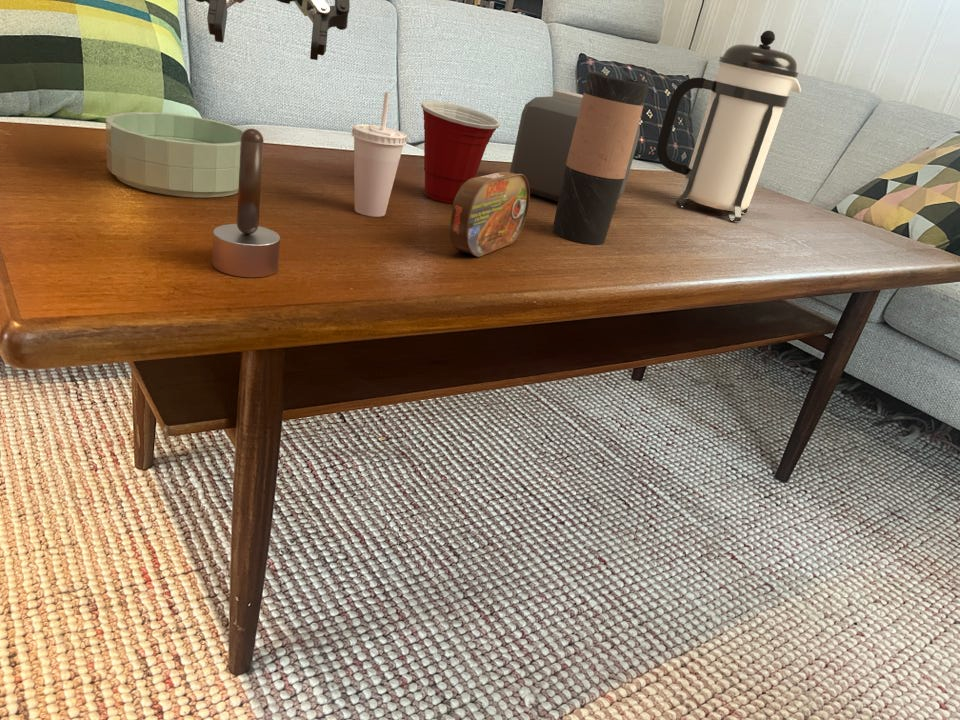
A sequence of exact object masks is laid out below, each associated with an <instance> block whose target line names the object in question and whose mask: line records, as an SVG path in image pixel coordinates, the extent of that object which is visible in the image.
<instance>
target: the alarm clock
mask: <svg viewBox="0 0 960 720" xmlns="http://www.w3.org/2000/svg"><path fill="white" fill-rule="evenodd" d="M582 98H583V94H580V93H576V92H572V91H568V90H563V89H554V90H553V92H552V96H534V98H532V99H530V100H529V101H528V102H527V103H525V104H524V107H523V110H522V111H521V116H520V121H519V125H518V130H517V134H516V139H515V145H514V149H513V155H512V160H511V165H510V169H509V172H510V173H514V174H523V175H524V176H525V177H526V179H527V181H528V183H529V189H530V195H534V196H536V197H537V196H538V197H541V198H544V199H547V200H550V201H554V202H556V203H558V200H559V195H560V191H561V186H562V181H563V176H564V171H565V167H566V162H567V158H568V154H569V150H570V146H571V142H572V138H573V134H574V130H575V126H576V122H577V118H578V114H579V110H580V106H581V102H582ZM640 132H641V125H640V123H639V124H638V128H637V132H636V136H635V140H634V143H633V147H632V151H631V155H630V158H629V162H628V166H627V170H626V174H625V177H624V181H623V184H622V187H621V190H620V194H619V197H618V200H621V197H622V196H623V194H624V192H625V189H626V186H627V182H628V179H629V175H630V171H631V168H632V164H633V161H634V157H635V153H636V149H637V146H638V142H639V138H640V135H641V134H640Z"/></svg>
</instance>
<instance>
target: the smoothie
mask: <svg viewBox="0 0 960 720" xmlns="http://www.w3.org/2000/svg"><path fill="white" fill-rule="evenodd" d="M390 96H391V92H389V91H384V97H383V104H382V111H381V112H382V113H381V121H380V125H374V124H363V123H359V124H358V123H357V124H354V125H352V131H351V133H350V134H351V136H352V137H353V163H354V164H353V166H354V167H353V170H354V171H353V174H354V175H353V178H354V179H353V180H354V182H353V183H354V184H353V185H354V190H353V191H354V212H356V213H357V214H359V215H362V216H366V217H373V218H374V217H375V218H377V217H378V218H381V217H384V216H386V213H387V210H388V205H389V202H390V197H391V194H392V190H393V186H394V182H395V178H396V176H397V171H398V168H399V164H400V160H401V157H402V152H403V149H404V146H406V145H407V140H408V135H407V133H405V132H403V131H401V130H398V129H394V128H391V127H386V126H387V118H388V111H389V103H390Z"/></svg>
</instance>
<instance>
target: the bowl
mask: <svg viewBox="0 0 960 720" xmlns="http://www.w3.org/2000/svg"><path fill="white" fill-rule="evenodd" d="M245 130H246V129H245V128H242V127H239V126H236V125H233V124H230V123H226V122H222V121H219V120H214V119H210V118H209V119H208V118H204V117H198V116H192V115H184V114H176V113H167V112H154V111H130V112H129V111H128V112H117V113H114V114H111V115H108V116H107V117H106V119H105V142H106V143H105V146H106V147H105V148H106V149H105V151H106V152H105V153H106V168H107V169H108V171H109V172H110V173H111V174H112V175H114V176H115V178H116V179H117V180H118V181H120V182H121V183H123V184H125V185H127V186H129V187H132V188H135V189H138V190H141V191H144V192H145V191H146V192H150V193H154V194H160V195H164V196H165V195H166V196H173V197H181V198H182V197H183V198H202V199H203V198H206V199H207V198H208V199H209V198H221V197H228V196H233V195H236V194H237V195H238V187H239V166H240V144H241V135H242V133H243V132H244V131H245Z"/></svg>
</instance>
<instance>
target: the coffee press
mask: <svg viewBox="0 0 960 720" xmlns="http://www.w3.org/2000/svg"><path fill="white" fill-rule="evenodd" d="M775 40H776V35H775V33H774V31H772V30H764V32H762V33H761V35H760V44H758V46H757V45H751V44H744V43H743V44H734V45H732V46H730V47H728V48H727V49H726V50H725V51H724V53H723V55H722V56H719V59H718V64H719V67H718V70H717V74H716V77H715V80H711V79H706V78H705V77H691V78H688V79H686V80H684V81H683V82H681V83H680V84H679V85H678V86H677V87H676V88H675V90H674V91H673V93H672V95H671V98H670V100H669V102H668V105H667V109H666V112H665V115H664V119H663V122H662V126H661V129H660V132H659V135H658V140H657V147H656V153H657V158H658V160H659V162H660V164H661V165H662V166H663V167H665V168H666V169H667V170H669V171H671V172H674V173H677V174H680V175H683V176H684V177H685V178H684V181H683V184H682V194H681V195H680V196H679V197H678V198H677V199H676V201H675V205H676V206H677V205H678V206H677V207H679V206H680V207H679V208H681V206H683V207H685V208H687V207H689V205H691V204H698V205H703V206H706V207H709V208H713V209H717V210H721V211H724V212H726V213H727V216H728V220H729V219H734V220H733V221H740V222H741V221H742V215H741V211H742V212H744V213H746V214H747V212H748V207H749V206H750V204H751V201H752V198H753V196H754V193H755V191H756V187H757V186H758V185H757V184H758V182H759V180H760V177H761V173H762V171H763V168H764V165H765V163H766V160H767V157H768V154H769V151H770V148H771V145H772V143H773V139H774V136H775V134H776V131H777V128H778V125H779V122H780V119H781V117H782V113H783V111H784V109H785V108H786V107H787V104H788V101H789V98H790V96H789V94H790V93H791V92H793V93H794V92H795V93H799V94H800V93H802V86H801V84H800V82H799V80H798V79H797V78H798V75H799V72H797V69H798V64H797V61H796V59H795V58H794V57H793V56H792V55H791V54H789V53H786V52H784V51H781V50H776V49H772V48H771V46H770V45H771V44H773V43H774V41H775ZM694 89H700V90H701V89H704V90H708V91H709V90H710V92H711V93H710V96H709V100H708V102H707V106H706V110H705V113H704V116H703V119H702V123H701V126H700V130H699V133H698V136H697V139H696V142H695V145H694V149H693V152H692V155H691V158H690V162H689V164H685V163H681V162H678V161H675V160H673V159H672V158H671V157H670V155H669V152H668V151H669V150H668V147H669V142H670V138H671V136H672V132H673V128H674V125H675V121H676V118H677V115H678V111H679V108H680V105H681V103H682V100H683V98H684V96H685V95H686V94H687V93H688V92H689V91H690V90H694ZM686 198H688V199H689V200H687V199H686ZM685 199H686V201H684V200H685Z"/></svg>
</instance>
